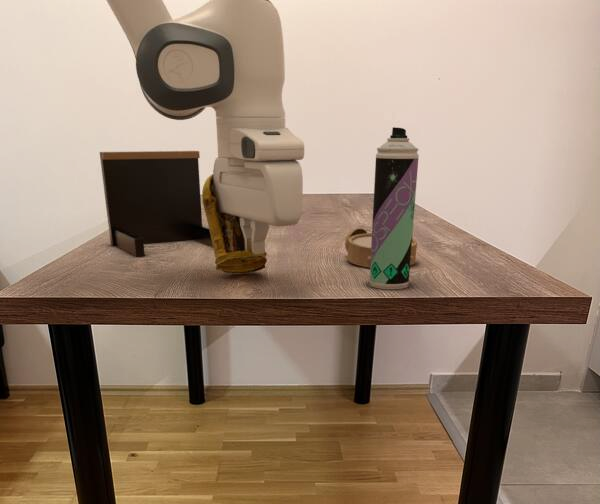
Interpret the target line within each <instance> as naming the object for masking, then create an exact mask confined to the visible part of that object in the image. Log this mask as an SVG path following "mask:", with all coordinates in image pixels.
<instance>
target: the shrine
mask: <svg viewBox="0 0 600 504" xmlns="http://www.w3.org/2000/svg"><path fill="white" fill-rule="evenodd" d="M212 172H214V168H213V170H212ZM201 196H202V197H201V198H202V199H201V200H202V205H203V206H202V207H203V209H204V213H205V216H206V221H207V226H209V230H210V234H211V239H212V244H213V247H212V248H213V253H214V257H215V260H214V264H215V265H216V267H215V269H216V271H217V270H218V271H220V272H223V273H226V274H248V273H256V272H259V271H262V270H263V269H265V268H266V264H267V260H268V259H267V254H268V253H267V252H266V251H265V252H264V253H263V254H253V253H251V252H248V251H246V249H245V238H244V235H243V232H242V229H241V226H240V217H238V216H234V215H230V214H226V213H222V212H219V211H217V210H216V206H215V204H216V200H217V198H215V197H214V194H213V173H212V174H211V175H209V176H208V177H207V178H206V179H205V182H204V184H203V186H202V191H201Z"/></svg>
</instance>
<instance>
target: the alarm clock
mask: <svg viewBox="0 0 600 504" xmlns="http://www.w3.org/2000/svg"><path fill="white" fill-rule="evenodd" d="M371 242H372V232H367V231H366V230H365V229H363V228H354V229H352V230H351V231H349V232H348V234H347V235H346V237H345V241H344V246H345V250H346V252H347V258H346V259H347V262H349V263H351V264H354V265H356V266H359V267H363V268H368V269H370V262H371ZM417 248H418V240H417V239H415V238H413V237H412V247H411V260H410V267H411V266H412V265H414V264H416V260H417V259H416V257H417Z"/></svg>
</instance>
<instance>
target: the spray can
mask: <svg viewBox="0 0 600 504" xmlns="http://www.w3.org/2000/svg"><path fill="white" fill-rule="evenodd" d="M386 139H387V141H386V142H384V143H382V145H380V146H379V147H376V151H377V153H376V154H375V167H374V187H373V204H372V205H373V207H372V226H371V233H372V242H371V262H370V268H369V286H370V287H372V288H375V289H381V290H401V289H406V288H408V287H409V283H410V273H411V272H410V271H411V269H410V268H411V266H410V260H411V247H412V238H413V232H414V220H415V206H416V196H417V195H416V194H417V182H418V170H419V156H420V155H419V153H418V152H419V148H418V147H416V146H415V145H414V144H413V143H411V141H410V137H409V138H408V135H407V130H406V129H405V128H402V127H395V126H394V127H392V130H391V134H390V136H389V137H388V138H386Z"/></svg>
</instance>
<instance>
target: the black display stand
mask: <svg viewBox="0 0 600 504" xmlns="http://www.w3.org/2000/svg"><path fill="white" fill-rule="evenodd" d="M200 154H201V153H200V151H199V150H165V151H164V150H156V151H155V150H152V151H151V150H149V151H148V150H146V151H145V150H144V151H143V150H140V151H99V159H100V167H101V175H102V182H103V192H104V200H105V209H106V217H107V224H108V225H107V227H108V233H109V242H110V246H112V247H117V248H119V249H121V250H123V251H125V252H126V253H129V254H131V255H132V256H134V257H136V258H137V257H138V258H139V257H145V244H146V245H147V244H158V243H169V242H182V241H196V242H199V243H202V244H203V245H206V246H210V247H212V248H213V244H212V239H211V234H210V230H209V226H208V225H206V224H203V215H202V214H203V213H202V199H201V198H202V197H201V183H200V181H201V180H200V163H199V159H200V158H201V157H200V156H201V155H200Z"/></svg>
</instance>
